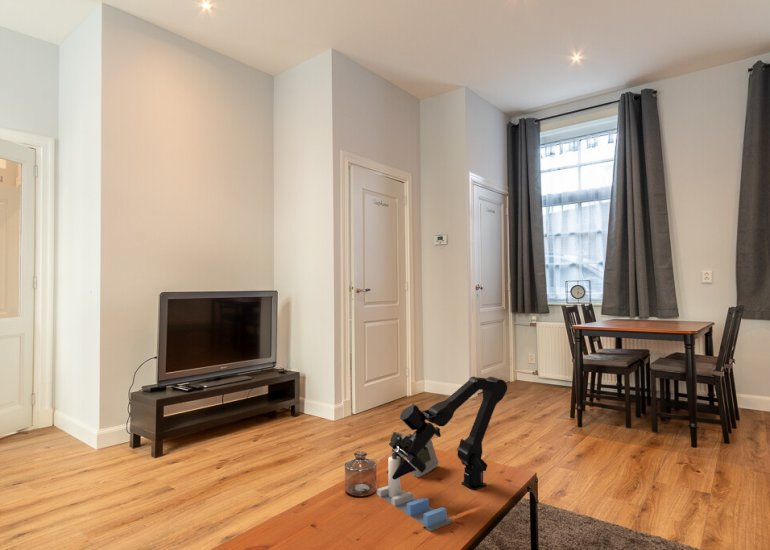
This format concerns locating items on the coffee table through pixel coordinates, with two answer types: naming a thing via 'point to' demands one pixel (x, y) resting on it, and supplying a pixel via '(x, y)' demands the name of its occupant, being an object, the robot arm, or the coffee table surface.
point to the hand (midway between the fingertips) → (390, 476)
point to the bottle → (392, 467)
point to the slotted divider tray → (417, 509)
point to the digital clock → (427, 460)
